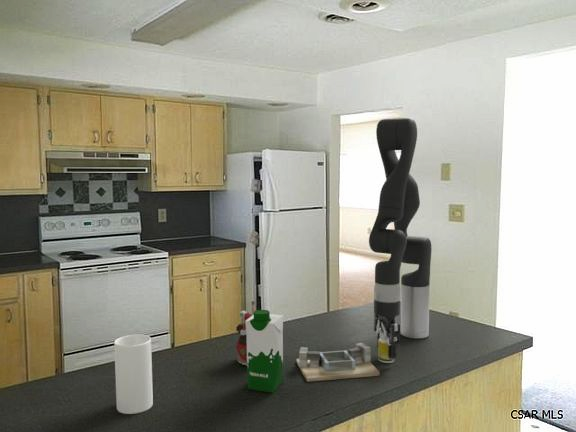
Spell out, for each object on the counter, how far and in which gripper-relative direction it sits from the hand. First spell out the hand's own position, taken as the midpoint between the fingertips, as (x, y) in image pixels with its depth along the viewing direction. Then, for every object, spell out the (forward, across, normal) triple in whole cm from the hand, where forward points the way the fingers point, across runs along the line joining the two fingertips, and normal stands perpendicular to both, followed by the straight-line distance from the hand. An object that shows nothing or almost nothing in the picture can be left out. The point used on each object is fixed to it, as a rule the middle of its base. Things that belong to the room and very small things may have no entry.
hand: (386, 352), depth 146 cm
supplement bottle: (+3, 0, 0) cm, 3 cm away
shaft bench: (+2, -3, +16) cm, 16 cm away
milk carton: (+3, -10, +37) cm, 38 cm away
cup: (+3, -15, +69) cm, 71 cm away
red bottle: (+3, +7, +38) cm, 39 cm away
